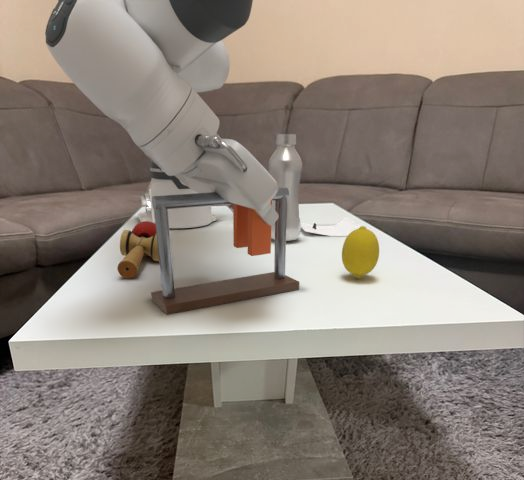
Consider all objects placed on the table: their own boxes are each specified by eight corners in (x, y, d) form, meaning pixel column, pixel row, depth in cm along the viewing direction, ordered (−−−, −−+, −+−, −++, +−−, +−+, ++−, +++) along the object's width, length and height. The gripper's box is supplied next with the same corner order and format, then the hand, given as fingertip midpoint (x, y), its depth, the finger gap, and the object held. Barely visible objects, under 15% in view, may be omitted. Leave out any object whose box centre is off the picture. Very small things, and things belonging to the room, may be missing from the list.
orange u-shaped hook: (233, 246, 65) (232, 177, 60) (251, 243, 66) (252, 176, 62) (251, 256, 61) (252, 183, 56) (270, 253, 62) (273, 182, 58)
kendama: (159, 286, 71) (176, 244, 86) (146, 248, 68) (166, 211, 83) (112, 294, 72) (136, 251, 87) (97, 257, 68) (125, 219, 83)
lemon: (354, 285, 68) (359, 231, 64) (333, 276, 72) (336, 224, 68) (383, 280, 70) (390, 227, 66) (360, 271, 74) (365, 221, 71)
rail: (151, 300, 62) (139, 193, 56) (277, 278, 71) (279, 184, 65) (166, 314, 57) (155, 199, 51) (299, 289, 66) (303, 189, 60)
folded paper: (295, 226, 109) (296, 217, 108) (345, 225, 110) (346, 216, 109) (305, 236, 98) (305, 227, 97) (360, 235, 99) (361, 226, 98)
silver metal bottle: (298, 245, 91) (302, 134, 82) (265, 243, 92) (265, 134, 84) (302, 238, 97) (306, 134, 88) (270, 236, 98) (271, 133, 89)
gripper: (239, 112, 45) (316, 207, 53) (169, 116, 61) (237, 189, 69) (200, 163, 45) (282, 250, 53) (140, 153, 61) (211, 222, 69)
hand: (256, 215), depth 61 cm, fingers open, 7 cm apart
